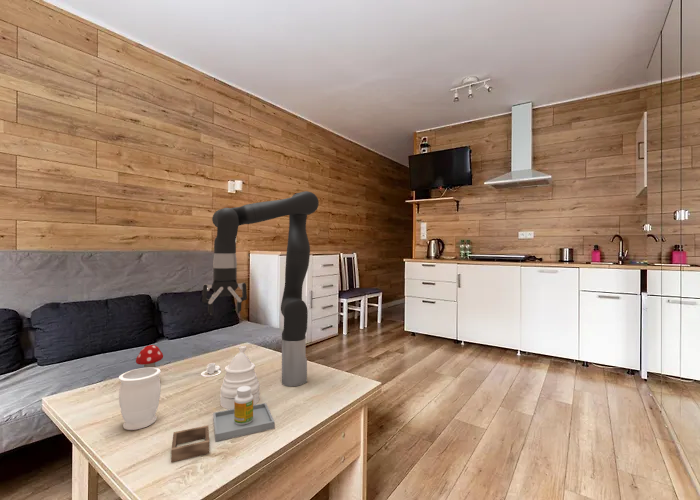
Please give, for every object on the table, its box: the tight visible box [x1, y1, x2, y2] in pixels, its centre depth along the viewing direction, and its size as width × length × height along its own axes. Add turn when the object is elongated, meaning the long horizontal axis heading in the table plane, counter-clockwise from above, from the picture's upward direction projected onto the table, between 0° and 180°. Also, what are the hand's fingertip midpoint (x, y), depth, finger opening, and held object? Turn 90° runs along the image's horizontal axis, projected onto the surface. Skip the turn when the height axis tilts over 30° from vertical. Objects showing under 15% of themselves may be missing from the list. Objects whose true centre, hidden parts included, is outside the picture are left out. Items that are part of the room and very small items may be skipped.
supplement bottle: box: [234, 386, 253, 425], centre depth 99 cm, size 5×5×10 cm
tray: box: [212, 402, 275, 443], centre depth 99 cm, size 16×13×2 cm
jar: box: [118, 367, 162, 431], centre depth 99 cm, size 11×10×15 cm
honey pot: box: [219, 345, 261, 410], centre depth 114 cm, size 13×13×18 cm
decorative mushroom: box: [135, 344, 164, 368], centre depth 127 cm, size 10×9×15 cm
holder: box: [170, 424, 210, 463], centre depth 87 cm, size 9×9×3 cm
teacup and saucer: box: [200, 362, 222, 378], centre depth 139 cm, size 9×8×4 cm
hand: (224, 313), depth 113 cm, fingers open, 8 cm apart
